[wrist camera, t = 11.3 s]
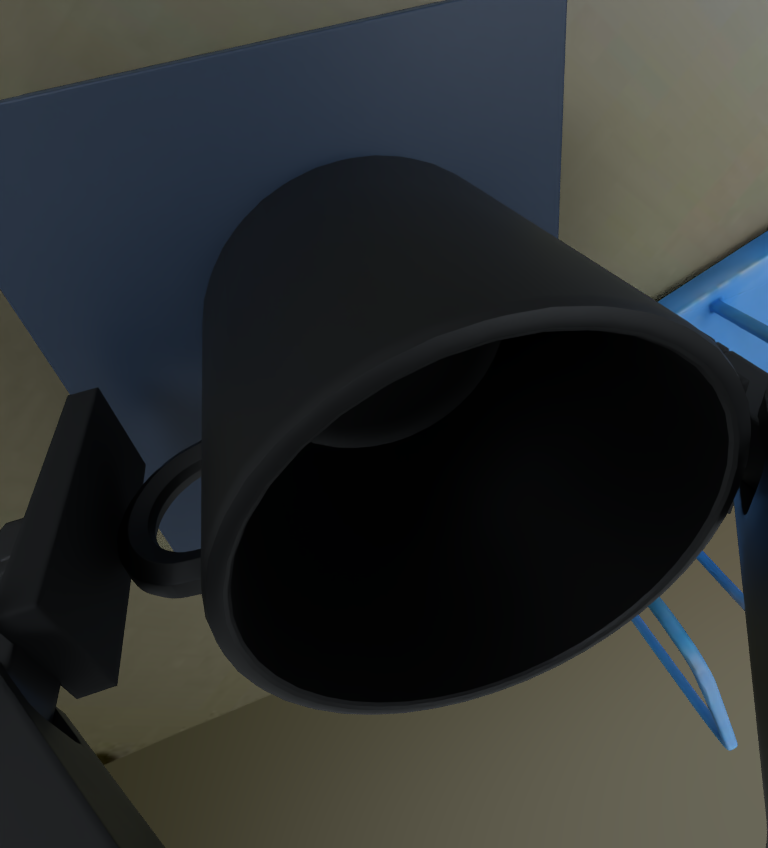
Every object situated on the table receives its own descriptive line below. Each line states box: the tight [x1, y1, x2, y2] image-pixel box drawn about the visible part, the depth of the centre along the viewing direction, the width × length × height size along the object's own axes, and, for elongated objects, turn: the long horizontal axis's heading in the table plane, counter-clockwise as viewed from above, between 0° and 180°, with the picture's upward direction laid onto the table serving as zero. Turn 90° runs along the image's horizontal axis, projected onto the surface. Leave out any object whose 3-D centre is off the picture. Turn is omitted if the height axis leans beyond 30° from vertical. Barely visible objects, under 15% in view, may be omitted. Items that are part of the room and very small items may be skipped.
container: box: [0, 0, 567, 552], centre depth 19 cm, size 15×15×8 cm
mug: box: [117, 155, 751, 715], centre depth 13 cm, size 9×12×9 cm
